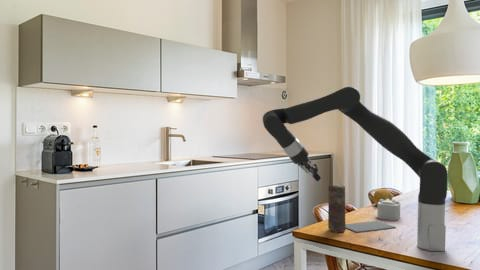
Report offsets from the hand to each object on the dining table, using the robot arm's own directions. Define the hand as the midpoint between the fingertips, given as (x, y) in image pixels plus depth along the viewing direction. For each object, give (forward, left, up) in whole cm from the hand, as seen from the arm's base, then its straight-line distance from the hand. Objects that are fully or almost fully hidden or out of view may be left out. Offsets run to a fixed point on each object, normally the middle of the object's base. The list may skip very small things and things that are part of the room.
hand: (318, 179), depth 164 cm
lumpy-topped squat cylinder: (+29, -44, -23) cm, 57 cm away
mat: (+8, -25, -23) cm, 35 cm away
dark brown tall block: (+3, -9, -23) cm, 25 cm away
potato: (+55, -52, -23) cm, 79 cm away
